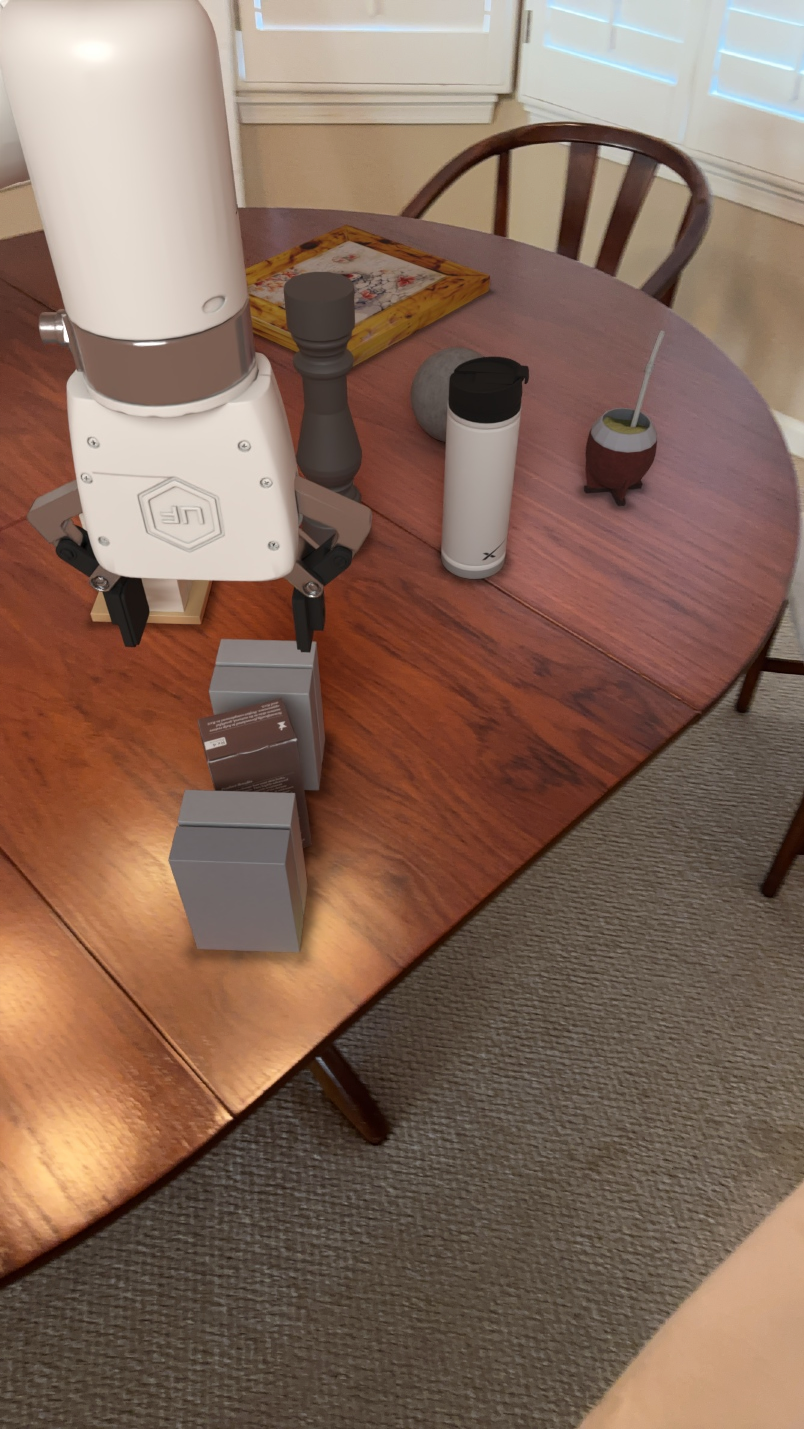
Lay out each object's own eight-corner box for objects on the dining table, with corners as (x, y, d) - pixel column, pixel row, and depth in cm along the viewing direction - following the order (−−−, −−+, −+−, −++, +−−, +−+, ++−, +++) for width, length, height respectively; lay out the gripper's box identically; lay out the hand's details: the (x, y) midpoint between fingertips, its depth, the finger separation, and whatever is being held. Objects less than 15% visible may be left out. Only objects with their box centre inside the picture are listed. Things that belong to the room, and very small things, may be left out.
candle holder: (360, 515, 97) (351, 267, 78) (369, 553, 93) (362, 300, 74) (300, 521, 96) (277, 272, 77) (306, 560, 92) (283, 306, 73)
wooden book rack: (92, 621, 86) (53, 503, 76) (136, 503, 98) (108, 388, 88) (201, 624, 86) (176, 506, 76) (232, 506, 98) (214, 390, 88)
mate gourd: (590, 511, 97) (615, 375, 86) (569, 468, 103) (590, 335, 91) (659, 504, 98) (693, 369, 87) (635, 462, 103) (664, 329, 92)
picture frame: (490, 275, 130) (341, 355, 115) (488, 290, 132) (342, 372, 116) (346, 224, 142) (194, 291, 126) (347, 239, 143) (197, 307, 128)
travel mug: (504, 584, 90) (526, 390, 75) (436, 576, 90) (443, 382, 75) (511, 544, 94) (532, 352, 79) (445, 536, 94) (454, 345, 80)
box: (297, 801, 72) (283, 694, 64) (313, 847, 70) (300, 742, 61) (220, 822, 71) (194, 715, 62) (233, 870, 68) (208, 766, 59)
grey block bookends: (197, 949, 64) (167, 860, 56) (239, 736, 77) (220, 638, 69) (299, 953, 64) (285, 864, 56) (325, 738, 77) (316, 640, 68)
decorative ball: (395, 447, 105) (395, 363, 98) (431, 405, 111) (434, 322, 104) (477, 469, 102) (484, 384, 95) (511, 425, 108) (519, 341, 101)
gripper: (-64, 382, 38) (52, 675, 51) (359, 391, 38) (370, 685, 51) (-3, 299, 43) (89, 585, 56) (371, 306, 43) (378, 593, 56)
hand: (222, 632), depth 53 cm, fingers open, 9 cm apart
